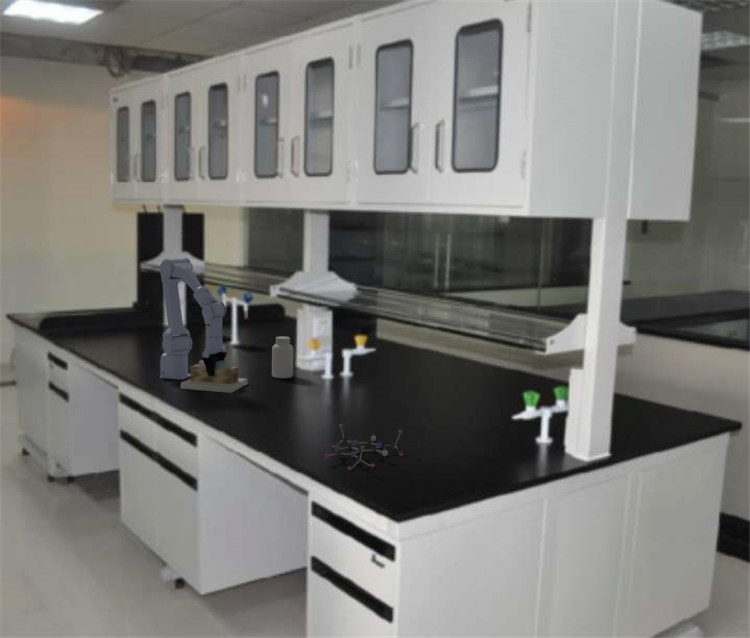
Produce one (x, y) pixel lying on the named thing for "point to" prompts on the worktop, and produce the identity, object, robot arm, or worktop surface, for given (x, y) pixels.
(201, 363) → the crate
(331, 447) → the molecular model
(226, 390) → the dock
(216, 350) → the robot arm
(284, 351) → the pill bottle
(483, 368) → the worktop surface
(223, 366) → the block
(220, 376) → the tan notched block
